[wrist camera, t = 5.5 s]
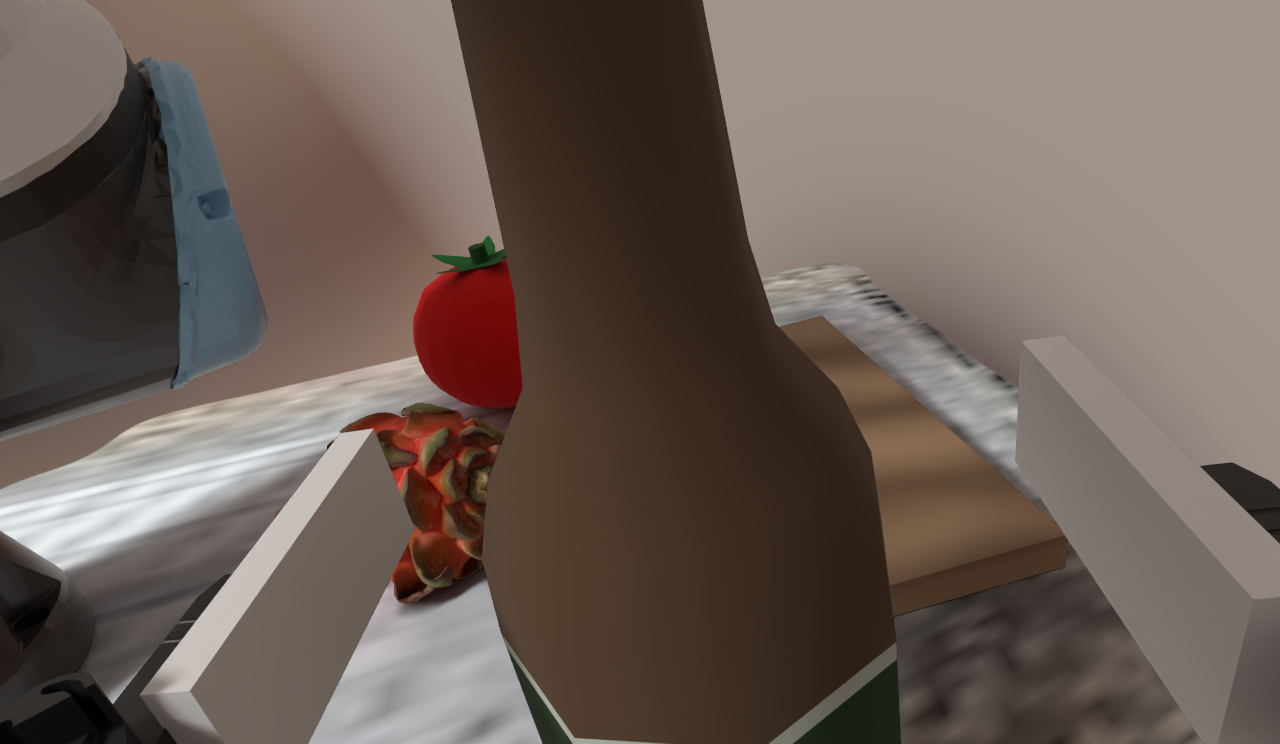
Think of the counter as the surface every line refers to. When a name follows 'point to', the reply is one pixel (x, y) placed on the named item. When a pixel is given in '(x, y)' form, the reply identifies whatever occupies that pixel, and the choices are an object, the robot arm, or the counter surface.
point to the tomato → (471, 329)
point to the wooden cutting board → (932, 488)
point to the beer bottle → (662, 411)
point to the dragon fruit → (437, 491)
